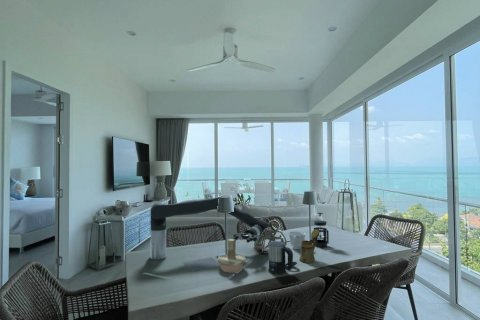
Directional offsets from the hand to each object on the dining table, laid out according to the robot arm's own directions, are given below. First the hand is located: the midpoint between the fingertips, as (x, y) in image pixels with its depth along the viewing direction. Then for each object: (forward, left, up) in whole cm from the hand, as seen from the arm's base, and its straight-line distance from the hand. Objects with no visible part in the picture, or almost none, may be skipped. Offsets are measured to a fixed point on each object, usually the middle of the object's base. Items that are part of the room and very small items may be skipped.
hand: (240, 240), depth 157 cm
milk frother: (+16, -19, -14) cm, 28 cm away
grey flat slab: (-21, +8, -13) cm, 26 cm away
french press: (+65, +4, -14) cm, 67 cm away
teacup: (+46, +7, -14) cm, 49 cm away
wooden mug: (+39, -14, -14) cm, 44 cm away
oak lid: (-9, -6, -8) cm, 13 cm away
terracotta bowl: (-9, -6, -13) cm, 17 cm away
